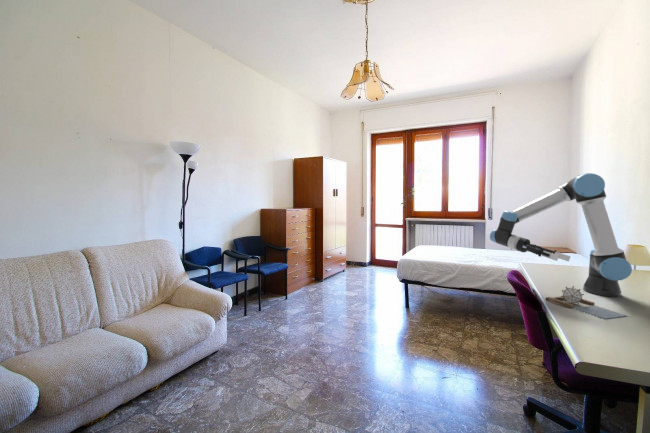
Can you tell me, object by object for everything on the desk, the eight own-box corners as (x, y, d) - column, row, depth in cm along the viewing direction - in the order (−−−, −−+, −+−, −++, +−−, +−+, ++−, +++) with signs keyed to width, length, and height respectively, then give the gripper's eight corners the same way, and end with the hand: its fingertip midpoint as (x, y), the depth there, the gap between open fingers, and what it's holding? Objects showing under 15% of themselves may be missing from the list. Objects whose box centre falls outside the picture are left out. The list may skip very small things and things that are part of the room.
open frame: (569, 297, 152) (569, 295, 152) (594, 305, 142) (594, 302, 141) (545, 300, 148) (545, 297, 147) (569, 308, 137) (569, 305, 137)
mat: (595, 306, 140) (595, 305, 140) (627, 316, 129) (627, 315, 129) (573, 308, 136) (573, 308, 136) (604, 319, 125) (604, 318, 125)
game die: (576, 312, 142) (592, 300, 136) (558, 304, 144) (573, 292, 137) (571, 298, 149) (586, 286, 143) (553, 291, 151) (568, 278, 144)
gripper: (527, 251, 173) (571, 265, 155) (505, 249, 160) (549, 265, 142) (532, 238, 172) (576, 252, 154) (509, 235, 158) (555, 250, 141)
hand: (563, 258), depth 148 cm, fingers open, 13 cm apart
